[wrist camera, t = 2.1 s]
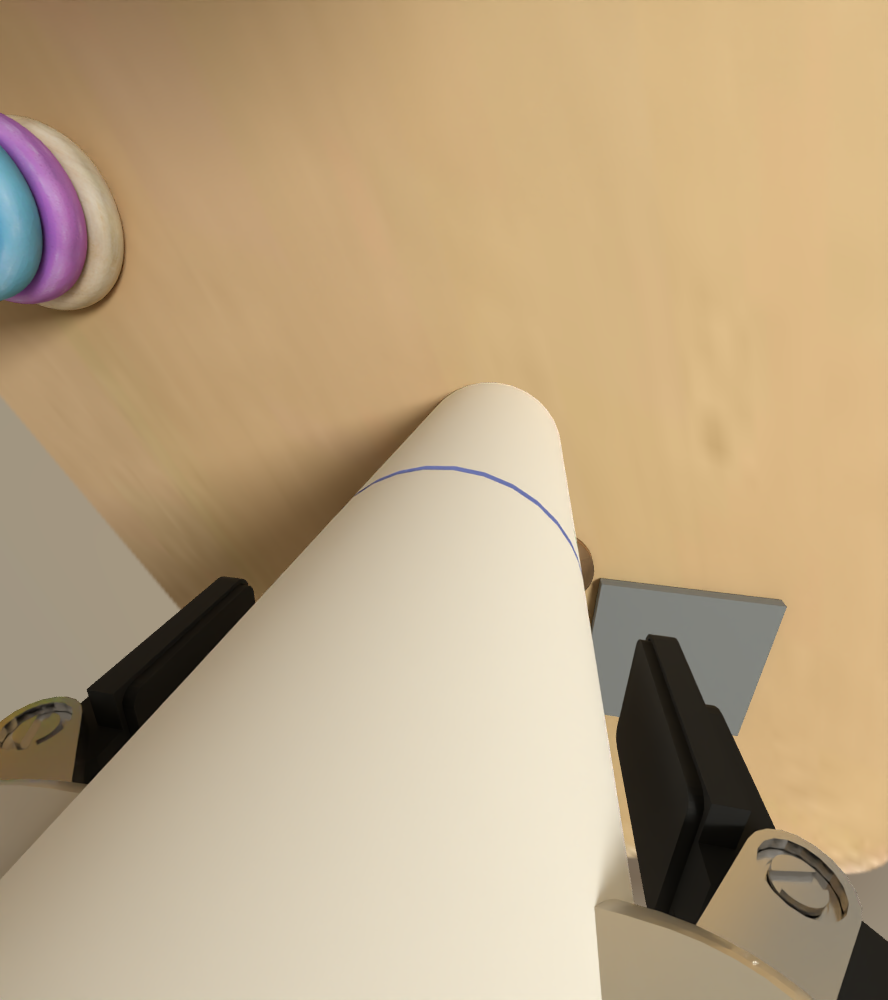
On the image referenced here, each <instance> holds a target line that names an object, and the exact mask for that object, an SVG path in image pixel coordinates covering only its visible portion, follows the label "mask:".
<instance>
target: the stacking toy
mask: <svg viewBox="0 0 888 1000" xmlns="http://www.w3.org/2000/svg"><path fill="white" fill-rule="evenodd" d="M123 255H124V238H123V230H122V224H121V220H120V216H119V212H118V209H117V206H116V204H115V201H114V199H113V196H112V194H111V192H110V190H109V188H108V186H107V184H106V182H105V180H104V178H103V177H102V175H101V173H100V172H99V170H98V169H97V167H96V166H95V165H94V163H93V162H92V161H91V160H90V158H89V157H88V156H87V155H86V154H85V153H84V152H83V151H82V150H81V149H80V148H79V147H78V146H77V145H76V144H75V143H74V142H72V141H71V140H70V139H69V138H67V137H66V136H65V135H63V134H62V133H60V132H58V131H57V130H55V129H53V128H52V127H50V126H48V125H46V124H44V123H41V122H39V121H36V120H34V119H31V118H27V117H22V116H16V115H4V114H2V113H0V301H2V300H7V301H11V302H15V303H21V304H38V305H41V306H44V307H47V308H52V309H58V310H76V309H82V308H85V307H88V306H91V305H93V304H95V303H96V302H98V301H100V300H101V299H102V298H104V297H105V296H106V295H107V294H108V293H109V291H110V290H111V289H112V288H113V286H114V284H115V283H116V281H117V279H118V276H119V274H120V271H121V267H122V263H123Z"/></svg>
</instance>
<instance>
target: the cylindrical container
mask: <svg viewBox="0 0 888 1000" xmlns="http://www.w3.org/2000/svg"><path fill="white" fill-rule="evenodd" d="M609 899H619V900H622V901H625V902H629V903H632V904H634V899H633V893H632V886H631V880H630V874H629V867H628V861H627V855H626V848H625V842H624V836H623V829H622V823H621V817H620V810H619V804H618V798H617V791H616V785H615V779H614V773H613V766H612V760H611V754H610V747H609V741H608V735H607V728H606V722H605V716H604V709H603V703H602V697H601V691H600V684H599V678H598V672H597V665H596V659H595V653H594V646H593V640H592V634H591V627H590V621H589V615H588V609H587V602H586V596H585V590H584V583H583V577H582V571H581V565H580V558H579V552H578V546H577V540H576V534H575V528H574V522H573V515H572V509H571V503H570V497H569V491H568V485H567V479H566V473H565V466H564V460H563V454H562V448H561V442H560V436H559V432H558V429H557V427H556V424H555V422H554V420H553V418H552V417H551V415H550V414H549V412H548V410H547V409H546V408H545V407H544V406H543V405H542V404H541V403H540V402H539V401H538V400H537V399H536V398H534V397H533V396H531V395H530V394H529V393H527V392H526V391H523V390H521V389H519V388H516V387H514V386H512V385H507V384H502V383H496V382H492V383H477V384H473V385H469V386H466V387H463V388H461V389H459V390H457V391H455V392H453V393H452V394H450V395H449V396H447V397H446V398H444V399H443V400H442V401H441V402H440V403H439V405H438V406H437V407H436V408H435V409H434V410H433V411H432V412H431V413H430V414H429V415H428V416H427V417H426V419H425V420H424V421H423V422H422V423H421V424H420V425H419V426H418V427H417V428H416V429H415V431H414V432H413V433H412V434H411V435H410V436H409V437H408V438H407V439H406V440H405V441H404V442H403V444H402V445H401V446H400V447H399V448H398V449H397V450H396V451H395V452H394V453H393V454H392V455H391V456H390V458H389V459H388V460H387V461H386V462H385V463H384V464H383V465H382V466H381V467H380V468H379V469H378V470H377V472H376V473H375V474H374V475H373V476H372V477H371V478H370V479H369V480H368V481H367V482H366V483H365V485H364V486H363V487H362V488H361V489H360V490H359V491H358V492H357V493H356V494H355V495H354V496H353V497H352V499H351V500H350V501H349V502H348V503H347V504H346V505H345V506H344V507H343V508H342V510H341V511H340V512H339V513H338V514H337V515H336V516H335V517H334V518H333V519H332V520H331V521H330V522H329V523H328V525H327V526H326V527H325V528H324V529H323V530H322V531H321V532H320V533H319V534H318V535H317V537H316V538H315V539H314V540H313V541H312V542H311V543H310V544H309V545H308V546H307V547H306V548H305V550H304V551H303V552H302V553H301V554H300V555H299V556H298V557H297V558H296V559H295V560H294V562H293V563H292V564H291V565H290V566H289V567H288V568H287V569H286V570H285V571H284V572H283V574H282V575H281V576H280V577H279V578H278V579H277V580H276V581H275V582H274V583H273V584H272V585H271V587H270V588H269V589H268V590H267V591H266V592H265V593H264V594H263V595H262V596H261V597H260V599H259V600H258V601H257V602H256V603H255V604H254V605H253V606H252V607H251V608H250V609H249V610H248V612H247V613H246V614H245V615H244V616H243V617H242V618H241V619H240V620H239V621H238V622H237V624H236V625H235V626H234V627H233V628H232V629H231V630H230V631H229V632H228V633H227V634H226V636H225V637H224V638H223V639H222V640H221V641H220V642H219V643H218V644H217V645H216V646H215V647H214V649H213V650H212V651H211V652H210V653H209V654H208V655H207V656H206V657H205V658H204V659H203V661H202V662H201V663H200V664H199V665H198V666H197V667H196V668H195V669H194V670H193V671H192V672H191V674H190V675H189V676H188V677H187V678H186V679H185V680H184V681H183V682H182V683H181V684H180V685H179V687H178V688H177V689H176V690H175V691H174V692H173V693H172V694H171V695H170V696H169V697H168V698H167V700H166V701H165V702H164V703H163V704H162V705H161V706H160V707H159V708H158V709H157V710H156V711H155V713H154V714H153V715H152V716H151V717H150V718H149V719H148V720H147V721H146V722H145V723H144V724H143V726H142V727H141V728H140V729H139V730H138V731H137V732H136V733H135V734H134V735H133V736H132V737H131V739H130V740H129V741H128V742H127V743H126V744H125V745H124V746H123V747H122V748H121V749H120V750H119V751H118V753H117V754H116V755H115V756H114V757H113V758H112V759H111V760H110V761H109V762H108V763H107V764H106V766H105V767H104V768H103V769H102V770H101V771H100V772H99V773H98V774H97V775H96V776H95V777H94V779H93V780H92V781H91V782H90V783H89V784H88V785H87V786H86V787H85V788H84V789H83V790H82V792H81V793H80V794H79V795H78V796H77V797H76V798H75V799H74V800H73V801H72V802H71V803H70V805H69V806H68V807H67V808H66V809H65V810H64V811H63V812H62V813H61V814H60V815H59V816H58V818H57V819H56V820H55V821H54V822H53V823H52V824H51V825H50V826H49V827H48V828H47V829H46V831H45V832H44V833H43V834H42V835H41V836H40V837H39V838H38V839H37V840H36V841H35V842H34V843H33V845H32V846H31V847H30V848H29V849H28V850H27V851H26V852H25V853H24V854H23V855H22V856H21V858H20V859H19V860H18V861H17V862H16V863H15V864H14V865H13V866H12V867H11V868H10V869H9V871H8V872H7V873H6V874H5V875H4V876H3V877H2V878H1V879H0V1000H602V997H601V985H600V973H599V960H598V948H597V936H596V923H595V911H594V907H595V906H596V905H598V904H599V903H601V902H603V901H605V900H609Z"/></svg>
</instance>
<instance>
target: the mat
mask: <svg viewBox="0 0 888 1000" xmlns="http://www.w3.org/2000/svg"><path fill="white" fill-rule="evenodd" d="M786 608H787V606H786V605H785V604H784V603H783V602H782V600H777V599H769V598H760V597H752V596H744V595H735V594H727V593H719V592H710V591H702V590H694V589H686V588H677V587H669V586H661V585H652V584H644V583H636V582H627V581H619V580H611V579H602V578H600V583H599V589H598V594H597V599H596V604H595V610H594V615H593V620H592V625H591V634H592V640H593V646H594V653H595V659H596V665H597V672H598V678H599V684H600V691H601V697H602V703H603V709H604V715H611V716H617V717H620V713H621V708H622V704H623V700H624V695H625V691H626V687H627V682H628V678H629V674H630V669H631V665H632V660H633V656H634V652H635V647H636V644H637V641H638V640H639V639H641V640H646V637H647V635H648V634H653V635H660V636H668V637H675V638H677V640H678V642H679V644H680V646H681V649H682V651H683V653H684V656H685V658H686V660H687V663H688V665H689V667H690V670H691V672H692V674H693V677H694V679H695V681H696V683H697V686H698V688H699V690H700V693H701V695H702V697H703V700H704V702H705V704H708V705H714V706H716V707H717V708H719V710H720V711H721V713H722V715H723V717H724V719H725V721H726V723H727V725H728V727H729V730H730V732H731V734H732V735H734V736H738V733H739V730H740V728H741V725H742V723H743V720H744V717H745V715H746V712H747V710H748V707H749V704H750V702H751V699H752V696H753V694H754V691H755V689H756V686H757V683H758V681H759V678H760V676H761V673H762V670H763V668H764V665H765V663H766V660H767V657H768V655H769V652H770V649H771V647H772V644H773V642H774V639H775V636H776V634H777V631H778V629H779V626H780V623H781V621H782V618H783V615H784V613H785V610H786Z"/></svg>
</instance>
